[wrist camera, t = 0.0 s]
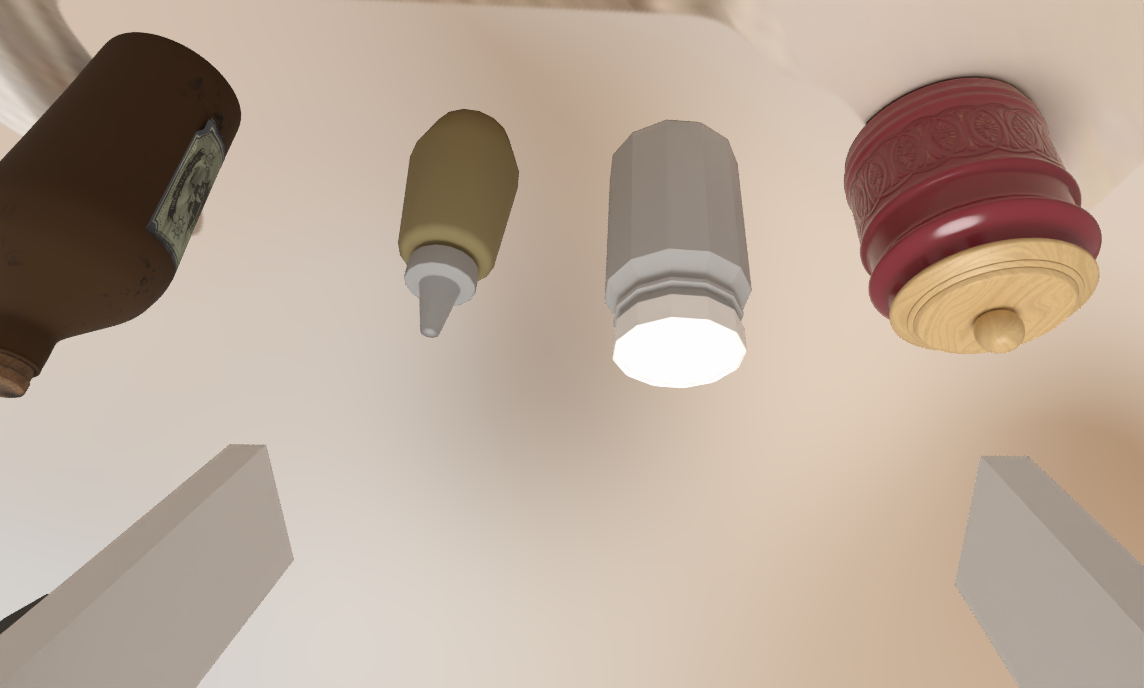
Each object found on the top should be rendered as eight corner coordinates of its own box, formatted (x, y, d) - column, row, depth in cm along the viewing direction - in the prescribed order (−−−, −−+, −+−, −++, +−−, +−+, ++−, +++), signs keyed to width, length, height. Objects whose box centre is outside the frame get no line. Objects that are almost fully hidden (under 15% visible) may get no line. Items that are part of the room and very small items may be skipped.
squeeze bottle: (426, 79, 46) (367, 278, 36) (536, 114, 48) (508, 312, 38) (413, 162, 52) (359, 350, 43) (510, 190, 54) (480, 376, 44)
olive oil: (100, 113, 50) (-103, 398, 37) (82, -7, 42) (-187, 302, 28) (246, 166, 54) (111, 443, 40) (256, 65, 46) (91, 369, 32)
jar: (760, 168, 51) (787, 365, 41) (658, 224, 57) (661, 407, 47) (688, 84, 45) (700, 290, 35) (583, 156, 51) (568, 349, 41)
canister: (938, 228, 55) (1001, 415, 45) (805, 187, 52) (841, 377, 42) (1083, 105, 44) (1204, 315, 35) (927, 45, 42) (1011, 255, 32)
